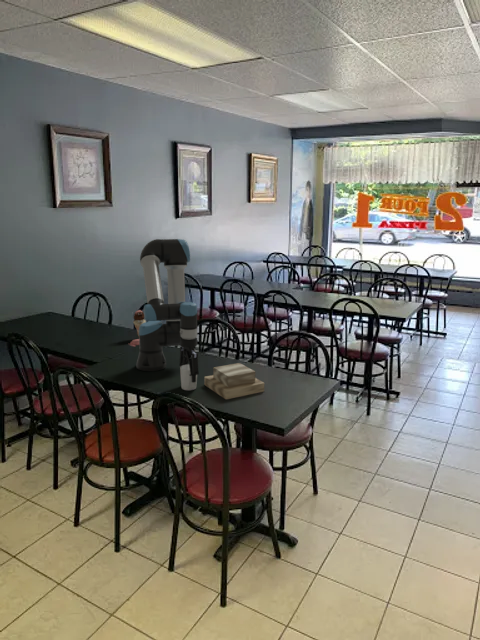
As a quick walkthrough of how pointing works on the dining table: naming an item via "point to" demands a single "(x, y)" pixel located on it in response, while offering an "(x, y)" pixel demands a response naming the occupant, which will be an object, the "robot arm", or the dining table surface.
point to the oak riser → (233, 381)
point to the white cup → (185, 377)
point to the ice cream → (138, 324)
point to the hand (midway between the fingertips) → (188, 385)
